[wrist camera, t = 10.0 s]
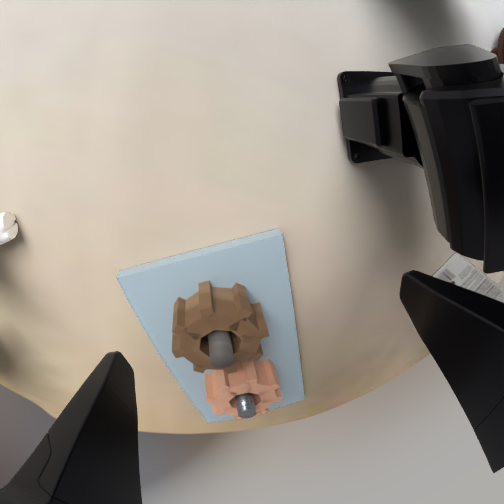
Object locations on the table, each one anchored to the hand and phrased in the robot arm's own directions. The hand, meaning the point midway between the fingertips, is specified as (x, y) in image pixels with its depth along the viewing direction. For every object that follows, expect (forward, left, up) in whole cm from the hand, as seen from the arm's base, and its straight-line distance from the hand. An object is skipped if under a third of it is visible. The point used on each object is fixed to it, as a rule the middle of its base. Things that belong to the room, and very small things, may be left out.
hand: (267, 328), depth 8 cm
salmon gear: (+3, +17, -11) cm, 20 cm away
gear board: (+3, +14, -12) cm, 19 cm away
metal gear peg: (+3, +16, -11) cm, 20 cm away
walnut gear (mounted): (+3, +8, -11) cm, 14 cm away
